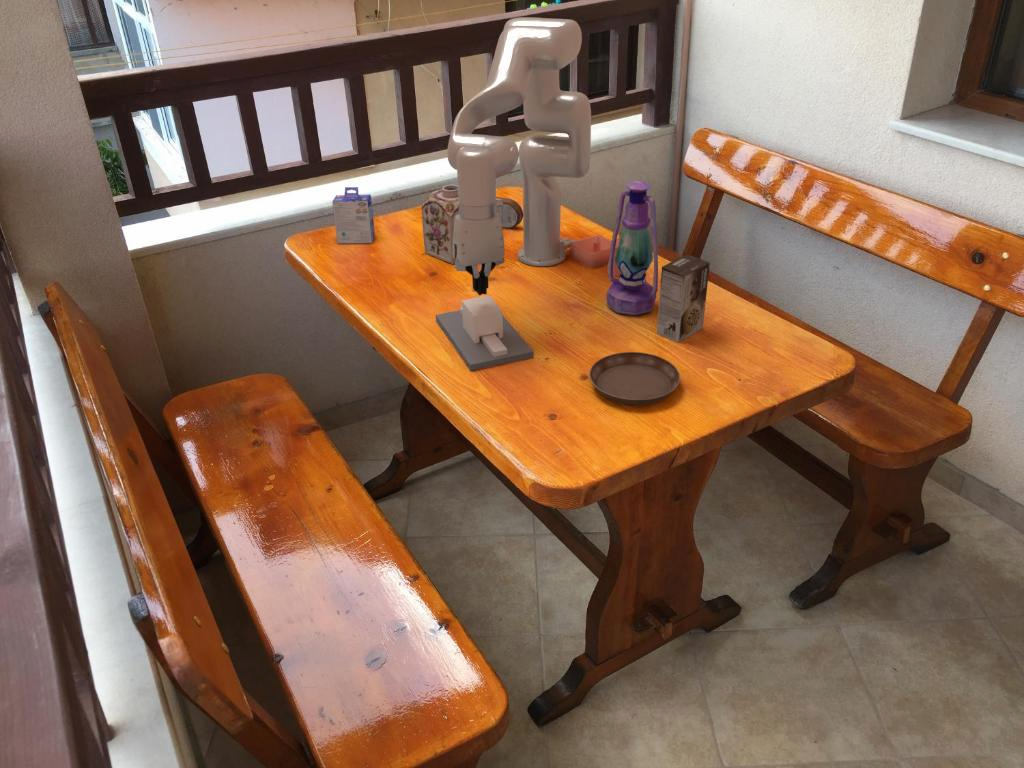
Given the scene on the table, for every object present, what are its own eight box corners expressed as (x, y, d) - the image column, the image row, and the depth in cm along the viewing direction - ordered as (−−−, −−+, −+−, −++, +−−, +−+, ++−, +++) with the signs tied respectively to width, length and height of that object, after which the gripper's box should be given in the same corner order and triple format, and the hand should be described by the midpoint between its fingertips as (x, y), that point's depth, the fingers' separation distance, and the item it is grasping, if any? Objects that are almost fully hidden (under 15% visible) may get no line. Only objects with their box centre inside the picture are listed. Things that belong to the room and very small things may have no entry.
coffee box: (679, 319, 194) (686, 253, 185) (703, 328, 190) (711, 261, 182) (654, 333, 189) (660, 265, 180) (679, 343, 185) (685, 274, 176)
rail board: (493, 309, 200) (493, 299, 198) (533, 357, 181) (533, 346, 179) (435, 320, 195) (435, 310, 194) (470, 371, 176) (470, 359, 175)
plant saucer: (616, 420, 161) (616, 406, 159) (573, 375, 175) (574, 362, 173) (696, 399, 167) (697, 385, 165) (649, 357, 181) (650, 344, 179)
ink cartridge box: (376, 236, 239) (370, 185, 231) (373, 244, 234) (367, 192, 226) (340, 236, 239) (334, 185, 231) (337, 244, 234) (330, 193, 226)
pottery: (569, 257, 224) (570, 222, 219) (598, 249, 229) (599, 214, 224) (613, 282, 212) (615, 244, 206) (642, 272, 216) (645, 236, 211)
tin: (523, 228, 242) (523, 199, 237) (519, 232, 240) (518, 203, 235) (475, 220, 247) (474, 192, 243) (470, 224, 245) (469, 196, 240)
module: (490, 321, 191) (489, 295, 188) (503, 337, 185) (502, 310, 182) (463, 326, 189) (461, 300, 186) (475, 343, 183) (473, 316, 180)
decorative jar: (486, 252, 228) (483, 186, 218) (453, 265, 221) (449, 198, 211) (455, 240, 235) (452, 176, 225) (423, 253, 228) (418, 187, 219)
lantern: (593, 306, 200) (597, 180, 184) (622, 289, 207) (629, 167, 191) (639, 323, 193) (648, 194, 177) (668, 305, 200) (680, 180, 184)
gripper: (505, 198, 178) (507, 279, 187) (436, 208, 173) (441, 291, 183) (519, 210, 172) (520, 293, 181) (447, 221, 167) (452, 305, 177)
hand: (480, 292), depth 182 cm, fingers closed
